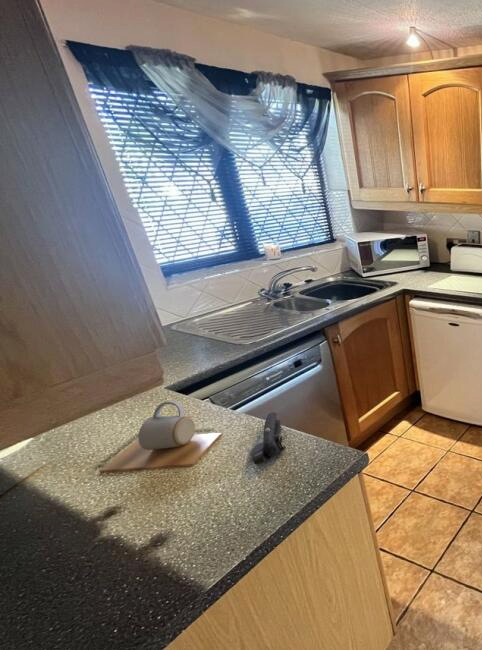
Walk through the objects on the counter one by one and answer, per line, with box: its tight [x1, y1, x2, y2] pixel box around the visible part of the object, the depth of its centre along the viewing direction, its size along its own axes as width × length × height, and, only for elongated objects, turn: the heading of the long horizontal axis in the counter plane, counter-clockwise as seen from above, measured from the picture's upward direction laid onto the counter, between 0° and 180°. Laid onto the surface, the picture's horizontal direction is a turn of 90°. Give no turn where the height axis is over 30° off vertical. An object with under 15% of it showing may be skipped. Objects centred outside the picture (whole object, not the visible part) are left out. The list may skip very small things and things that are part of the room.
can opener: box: [251, 412, 286, 465], centre depth 94 cm, size 18×7×6 cm, turn 26°
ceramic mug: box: [137, 400, 196, 450], centre depth 92 cm, size 11×8×8 cm
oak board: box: [98, 432, 223, 473], centre depth 92 cm, size 20×11×1 cm, turn 95°
